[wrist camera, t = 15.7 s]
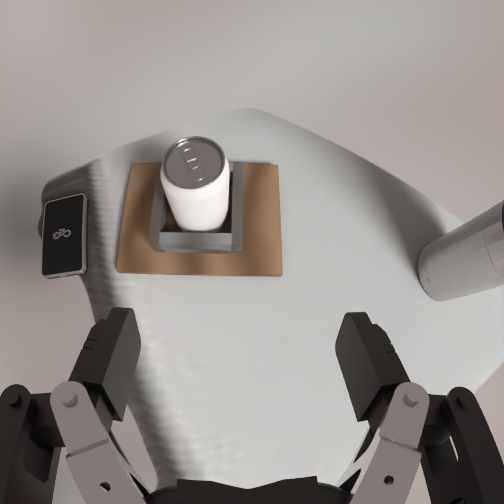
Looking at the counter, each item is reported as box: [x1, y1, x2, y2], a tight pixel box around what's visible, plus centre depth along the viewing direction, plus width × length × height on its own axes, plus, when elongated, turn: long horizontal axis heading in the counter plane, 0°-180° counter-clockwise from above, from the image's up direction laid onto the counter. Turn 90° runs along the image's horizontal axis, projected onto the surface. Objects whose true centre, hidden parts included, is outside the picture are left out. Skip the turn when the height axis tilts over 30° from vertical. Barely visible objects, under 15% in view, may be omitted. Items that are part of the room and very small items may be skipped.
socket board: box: [116, 162, 283, 276], centre depth 35 cm, size 20×15×5 cm
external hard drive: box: [41, 193, 88, 279], centre depth 34 cm, size 7×11×2 cm, turn 10°
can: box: [160, 136, 229, 233], centre depth 31 cm, size 6×6×12 cm
